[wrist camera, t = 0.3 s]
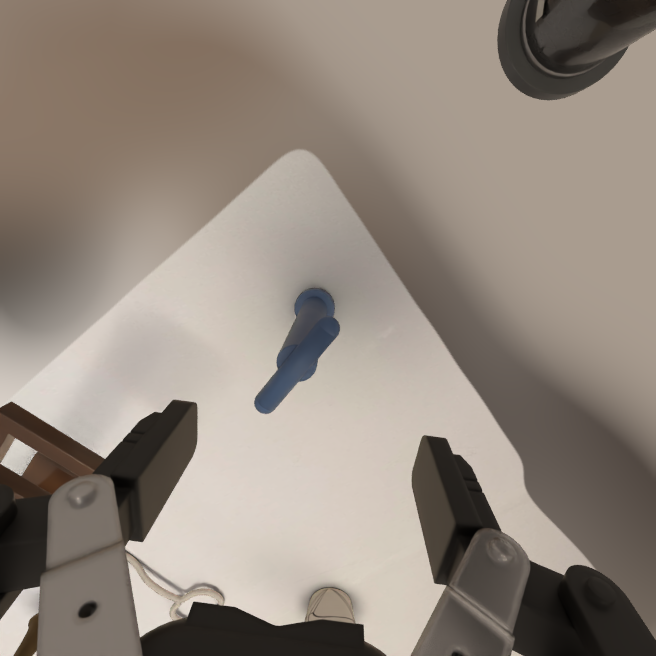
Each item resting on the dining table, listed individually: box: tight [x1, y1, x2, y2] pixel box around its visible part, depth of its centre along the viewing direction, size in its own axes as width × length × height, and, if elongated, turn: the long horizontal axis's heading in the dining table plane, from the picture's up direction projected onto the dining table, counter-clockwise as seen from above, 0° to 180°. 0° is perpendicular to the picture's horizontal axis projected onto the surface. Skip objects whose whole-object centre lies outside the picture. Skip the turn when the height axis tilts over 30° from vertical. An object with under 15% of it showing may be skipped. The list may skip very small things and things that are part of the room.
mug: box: [305, 588, 355, 623], centre depth 49 cm, size 11×8×10 cm
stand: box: [0, 402, 105, 499], centre depth 37 cm, size 36×12×20 cm, turn 142°
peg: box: [254, 288, 340, 414], centre depth 31 cm, size 4×9×17 cm, turn 142°
